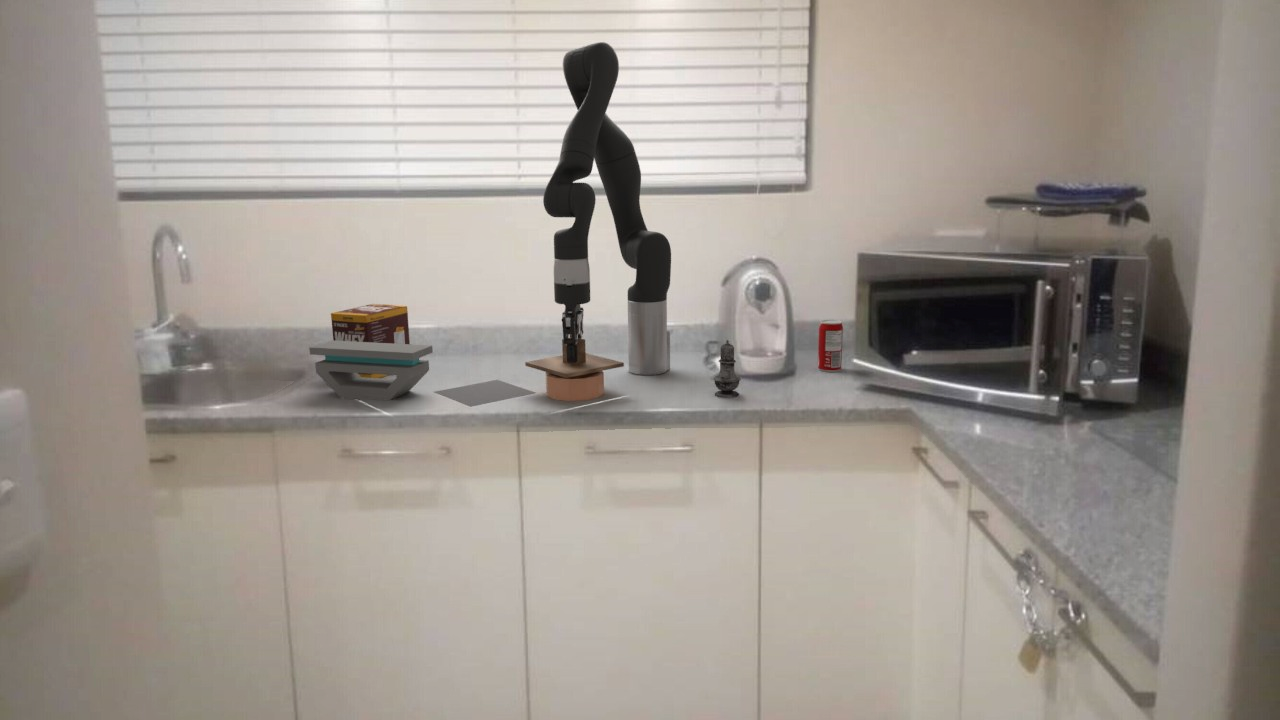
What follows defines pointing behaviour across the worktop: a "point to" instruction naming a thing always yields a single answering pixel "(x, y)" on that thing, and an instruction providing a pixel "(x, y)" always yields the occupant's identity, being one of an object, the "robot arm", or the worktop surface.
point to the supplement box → (372, 326)
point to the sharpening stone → (370, 368)
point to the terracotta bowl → (575, 386)
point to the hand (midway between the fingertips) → (574, 359)
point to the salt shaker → (727, 373)
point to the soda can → (830, 345)
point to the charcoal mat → (484, 392)
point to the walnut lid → (581, 367)
